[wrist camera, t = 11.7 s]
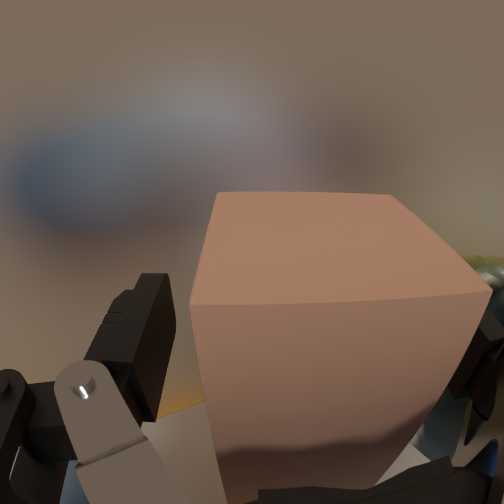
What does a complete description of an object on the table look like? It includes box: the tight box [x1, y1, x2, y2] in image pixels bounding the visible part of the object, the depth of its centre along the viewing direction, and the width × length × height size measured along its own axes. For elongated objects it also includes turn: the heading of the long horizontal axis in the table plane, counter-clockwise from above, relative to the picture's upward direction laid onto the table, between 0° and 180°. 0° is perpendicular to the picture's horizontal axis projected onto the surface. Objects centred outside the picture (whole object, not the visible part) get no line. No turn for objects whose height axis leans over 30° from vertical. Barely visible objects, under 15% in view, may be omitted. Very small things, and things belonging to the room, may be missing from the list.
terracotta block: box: [189, 192, 493, 504], centre depth 9 cm, size 5×5×12 cm
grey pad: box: [141, 401, 431, 504], centre depth 12 cm, size 12×12×1 cm
